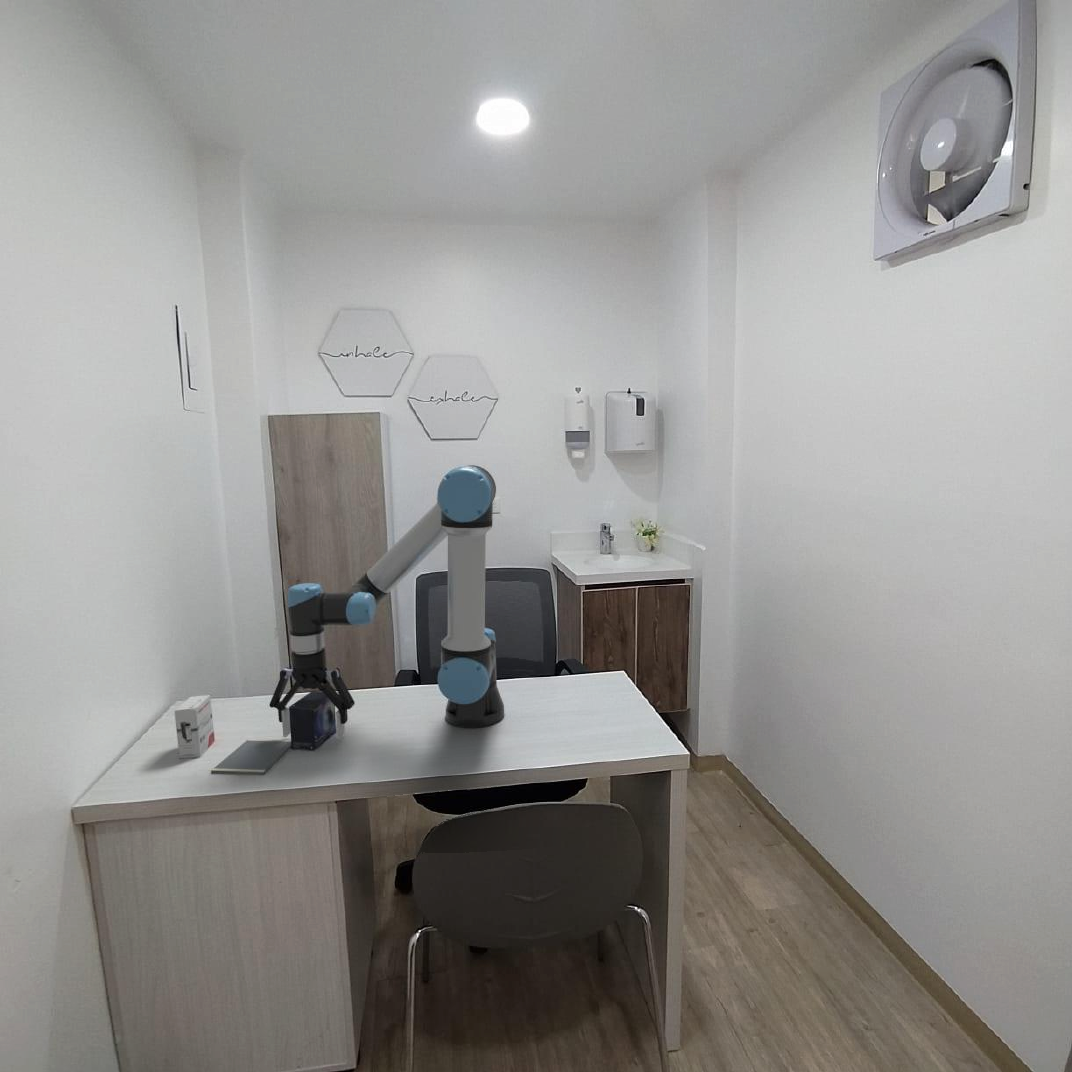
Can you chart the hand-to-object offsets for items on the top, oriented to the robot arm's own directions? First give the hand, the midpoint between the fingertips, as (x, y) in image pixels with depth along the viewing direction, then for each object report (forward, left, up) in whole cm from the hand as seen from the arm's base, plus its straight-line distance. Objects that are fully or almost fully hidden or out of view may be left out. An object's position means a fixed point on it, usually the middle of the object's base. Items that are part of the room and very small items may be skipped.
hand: (314, 735), depth 154 cm
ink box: (+26, +6, -2) cm, 27 cm away
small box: (0, 0, -2) cm, 2 cm away
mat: (+10, +9, -1) cm, 13 cm away
